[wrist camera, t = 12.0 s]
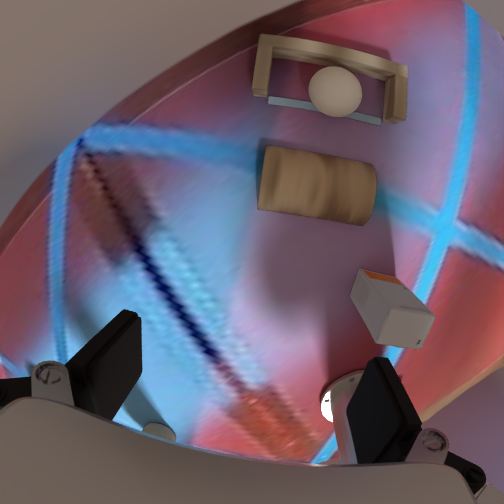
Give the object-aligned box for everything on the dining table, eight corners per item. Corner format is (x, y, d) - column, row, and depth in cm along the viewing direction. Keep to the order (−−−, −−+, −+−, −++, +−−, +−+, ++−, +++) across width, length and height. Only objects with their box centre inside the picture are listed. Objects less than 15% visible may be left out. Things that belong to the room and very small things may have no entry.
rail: (396, 74, 28) (407, 66, 25) (393, 124, 30) (405, 119, 27) (261, 45, 29) (260, 33, 25) (253, 96, 31) (251, 87, 27)
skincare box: (396, 275, 36) (438, 316, 24) (385, 303, 37) (421, 351, 25) (357, 266, 36) (391, 307, 24) (347, 295, 37) (374, 345, 25)
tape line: (380, 118, 30) (381, 118, 30) (380, 126, 30) (380, 126, 30) (269, 96, 31) (269, 96, 30) (268, 103, 31) (267, 103, 31)
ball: (365, 122, 26) (350, 122, 31) (372, 69, 23) (356, 78, 29) (308, 109, 26) (302, 112, 31) (315, 55, 23) (308, 67, 29)
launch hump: (360, 164, 37) (380, 163, 29) (351, 219, 39) (369, 231, 31) (267, 147, 37) (266, 141, 29) (259, 205, 39) (256, 213, 32)
